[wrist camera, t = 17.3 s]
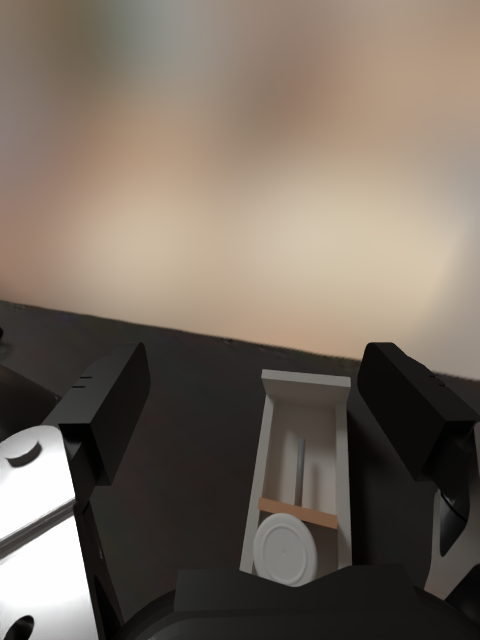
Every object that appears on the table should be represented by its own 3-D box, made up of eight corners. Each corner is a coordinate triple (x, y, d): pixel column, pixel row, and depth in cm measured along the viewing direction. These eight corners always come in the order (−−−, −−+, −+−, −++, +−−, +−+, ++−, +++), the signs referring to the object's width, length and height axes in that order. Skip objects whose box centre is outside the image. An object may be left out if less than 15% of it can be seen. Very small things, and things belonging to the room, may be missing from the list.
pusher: (332, 529, 28) (337, 529, 23) (265, 512, 30) (257, 509, 26) (332, 449, 33) (336, 436, 28) (274, 440, 35) (268, 426, 30)
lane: (350, 644, 24) (365, 687, 17) (241, 604, 27) (218, 627, 20) (343, 404, 37) (350, 377, 30) (270, 396, 40) (262, 369, 33)
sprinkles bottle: (322, 537, 28) (329, 541, 18) (304, 587, 26) (300, 623, 16) (284, 509, 30) (270, 498, 20) (265, 553, 28) (239, 565, 18)
